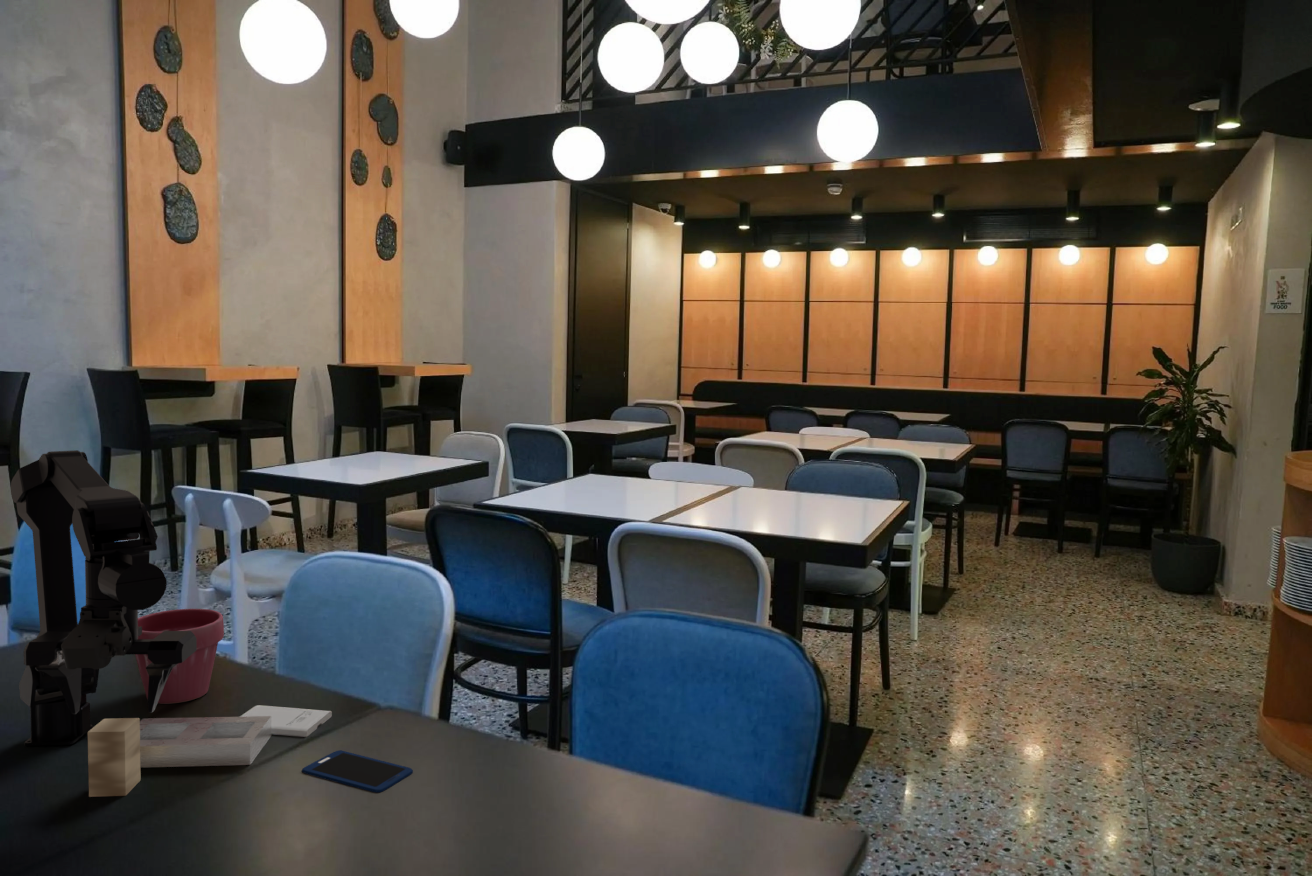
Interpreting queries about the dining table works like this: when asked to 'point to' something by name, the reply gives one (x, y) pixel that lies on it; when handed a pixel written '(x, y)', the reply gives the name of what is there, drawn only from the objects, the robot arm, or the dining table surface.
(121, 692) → the dining table surface
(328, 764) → the cell phone
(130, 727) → the maple peg
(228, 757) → the double square frame
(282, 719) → the external hard drive
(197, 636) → the plant pot
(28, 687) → the robot arm
